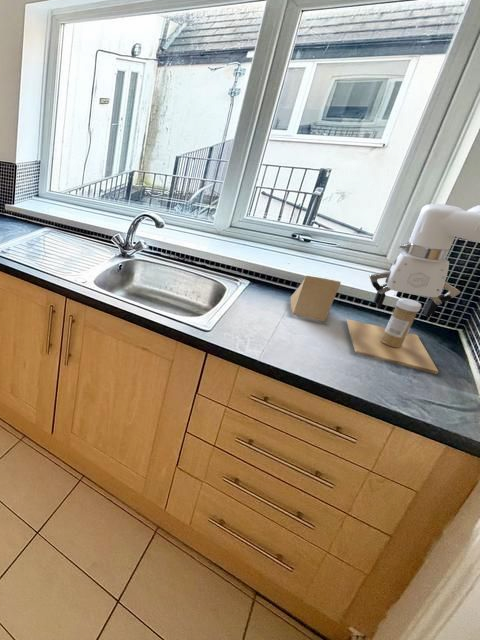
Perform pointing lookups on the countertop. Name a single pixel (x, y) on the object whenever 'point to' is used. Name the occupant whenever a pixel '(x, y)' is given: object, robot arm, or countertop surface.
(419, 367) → the chopping board
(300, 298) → the sandwich container
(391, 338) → the sprinkles bottle
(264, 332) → the countertop surface
